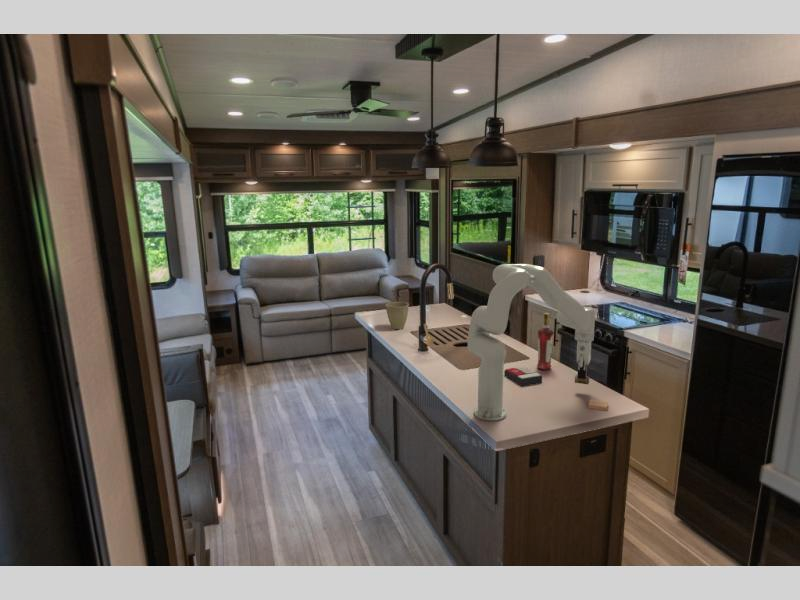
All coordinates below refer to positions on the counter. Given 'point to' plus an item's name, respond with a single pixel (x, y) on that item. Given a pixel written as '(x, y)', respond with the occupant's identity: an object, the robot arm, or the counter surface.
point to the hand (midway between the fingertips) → (581, 376)
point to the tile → (598, 405)
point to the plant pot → (397, 314)
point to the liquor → (545, 345)
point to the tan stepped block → (582, 381)
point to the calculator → (523, 376)
